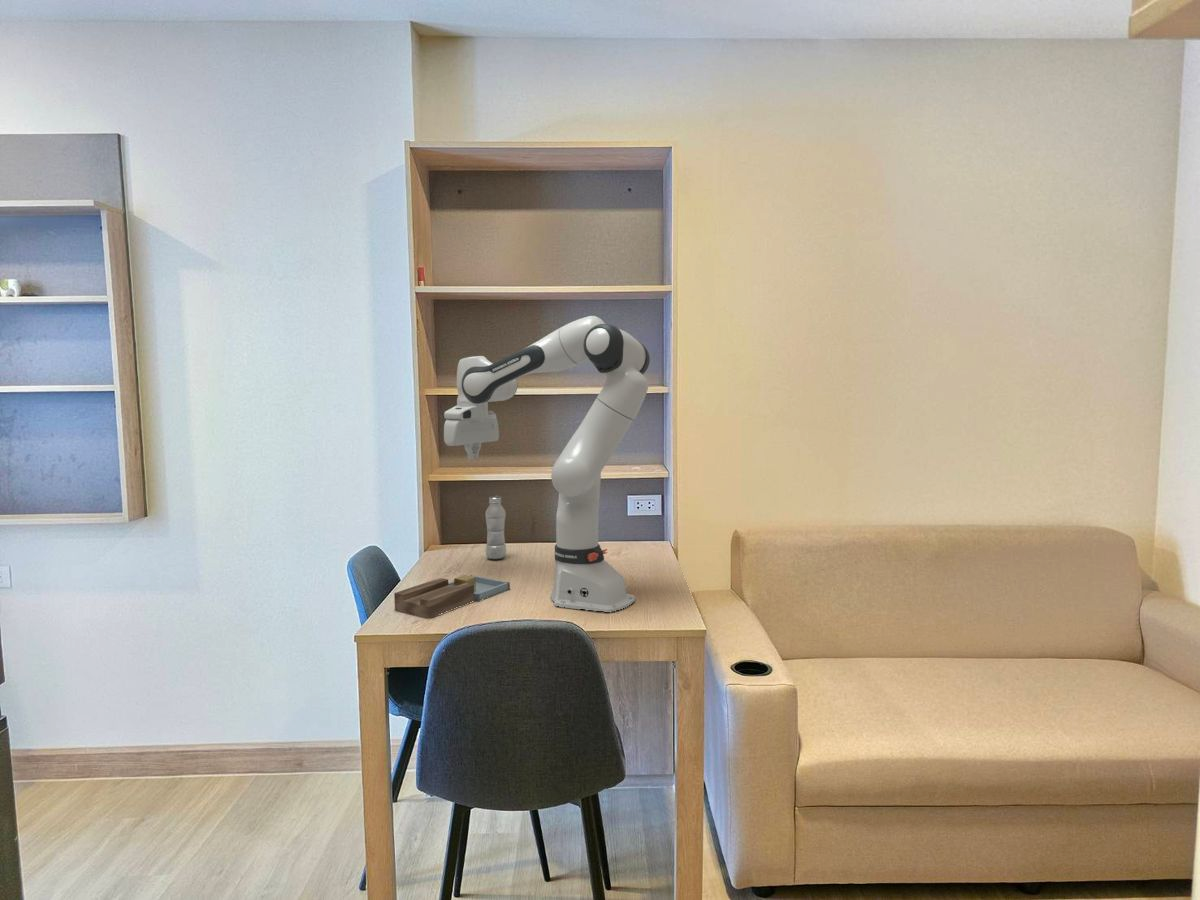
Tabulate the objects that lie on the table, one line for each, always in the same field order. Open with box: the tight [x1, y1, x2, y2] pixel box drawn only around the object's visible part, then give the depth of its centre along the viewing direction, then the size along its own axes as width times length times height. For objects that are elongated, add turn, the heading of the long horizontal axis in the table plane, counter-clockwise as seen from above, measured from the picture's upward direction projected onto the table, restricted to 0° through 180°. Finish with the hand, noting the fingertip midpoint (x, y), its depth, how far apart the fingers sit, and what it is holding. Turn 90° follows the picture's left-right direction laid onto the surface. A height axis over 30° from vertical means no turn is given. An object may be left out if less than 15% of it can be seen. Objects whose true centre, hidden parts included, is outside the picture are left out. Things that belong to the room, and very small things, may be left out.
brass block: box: [453, 574, 476, 592], centre depth 200 cm, size 4×4×4 cm
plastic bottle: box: [484, 495, 507, 560], centre depth 236 cm, size 6×7×20 cm
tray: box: [448, 574, 511, 602], centre depth 202 cm, size 14×13×2 cm
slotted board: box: [393, 577, 475, 619], centre depth 189 cm, size 12×16×4 cm
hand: (472, 458), depth 217 cm, fingers closed
